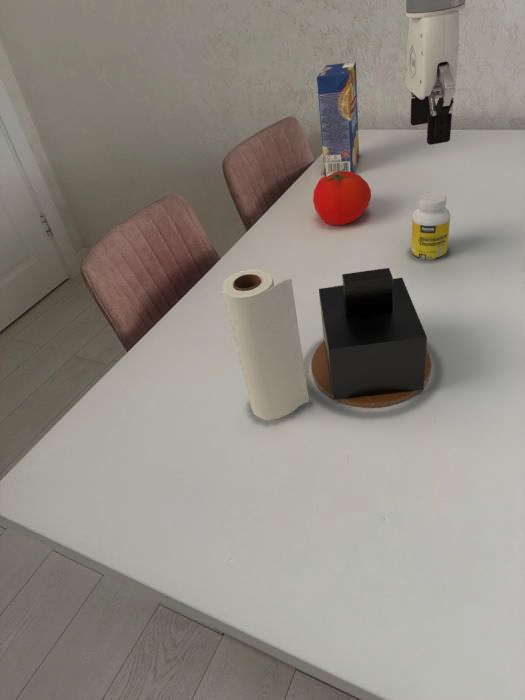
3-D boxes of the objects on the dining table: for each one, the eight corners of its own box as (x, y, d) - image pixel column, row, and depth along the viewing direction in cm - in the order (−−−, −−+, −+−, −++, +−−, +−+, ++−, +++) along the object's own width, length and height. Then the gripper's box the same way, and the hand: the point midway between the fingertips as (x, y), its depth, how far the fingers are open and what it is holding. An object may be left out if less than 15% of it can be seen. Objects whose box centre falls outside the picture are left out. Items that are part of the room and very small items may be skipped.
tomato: (326, 206, 119) (322, 162, 112) (377, 208, 113) (376, 162, 107) (306, 233, 110) (300, 186, 103) (360, 236, 105) (358, 188, 98)
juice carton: (352, 175, 130) (348, 73, 115) (324, 176, 133) (316, 77, 118) (359, 158, 139) (355, 61, 124) (332, 159, 141) (326, 65, 126)
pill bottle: (408, 263, 94) (410, 205, 87) (413, 246, 98) (415, 189, 91) (444, 265, 91) (449, 205, 84) (448, 247, 96) (453, 189, 88)
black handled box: (307, 336, 80) (296, 252, 70) (415, 323, 78) (418, 235, 69) (316, 414, 67) (304, 324, 57) (445, 400, 65) (455, 304, 56)
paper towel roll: (243, 414, 71) (210, 287, 57) (270, 388, 74) (244, 263, 60) (283, 435, 67) (257, 304, 53) (309, 406, 70) (291, 276, 56)
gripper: (392, -2, 73) (392, 121, 84) (424, 11, 60) (418, 155, 70) (445, -12, 72) (437, 113, 83) (488, -1, 59) (473, 146, 70)
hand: (429, 132), depth 77 cm, fingers open, 9 cm apart
